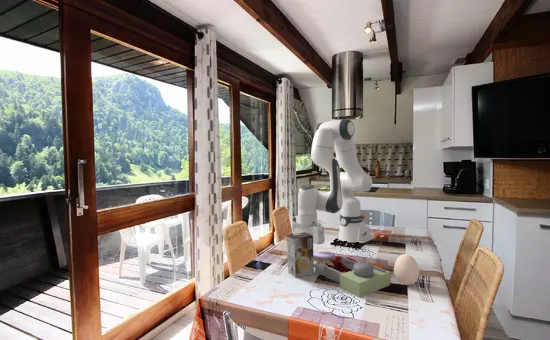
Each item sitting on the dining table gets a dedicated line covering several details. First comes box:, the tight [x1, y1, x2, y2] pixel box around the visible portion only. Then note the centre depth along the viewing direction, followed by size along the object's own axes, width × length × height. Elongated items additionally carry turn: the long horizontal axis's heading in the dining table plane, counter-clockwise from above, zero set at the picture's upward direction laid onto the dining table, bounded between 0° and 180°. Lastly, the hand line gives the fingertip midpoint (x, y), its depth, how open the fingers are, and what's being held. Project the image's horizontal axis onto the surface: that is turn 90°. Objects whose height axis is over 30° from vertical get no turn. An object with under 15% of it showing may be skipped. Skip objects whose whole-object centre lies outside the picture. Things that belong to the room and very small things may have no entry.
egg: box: [393, 253, 420, 286], centre depth 109 cm, size 9×9×12 cm
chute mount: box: [314, 255, 358, 284], centre depth 118 cm, size 17×16×4 cm
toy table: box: [313, 251, 336, 268], centre depth 127 cm, size 10×9×6 cm
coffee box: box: [286, 232, 315, 278], centre depth 120 cm, size 9×6×16 cm
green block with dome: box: [339, 261, 391, 298], centre depth 107 cm, size 17×9×8 cm, turn 123°
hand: (307, 249), depth 137 cm, fingers closed
